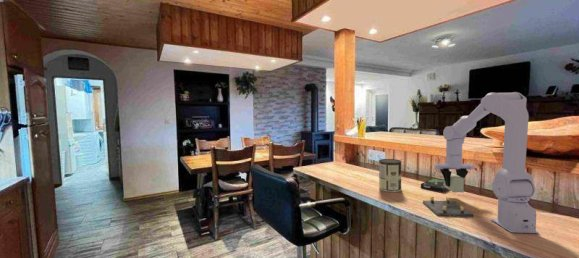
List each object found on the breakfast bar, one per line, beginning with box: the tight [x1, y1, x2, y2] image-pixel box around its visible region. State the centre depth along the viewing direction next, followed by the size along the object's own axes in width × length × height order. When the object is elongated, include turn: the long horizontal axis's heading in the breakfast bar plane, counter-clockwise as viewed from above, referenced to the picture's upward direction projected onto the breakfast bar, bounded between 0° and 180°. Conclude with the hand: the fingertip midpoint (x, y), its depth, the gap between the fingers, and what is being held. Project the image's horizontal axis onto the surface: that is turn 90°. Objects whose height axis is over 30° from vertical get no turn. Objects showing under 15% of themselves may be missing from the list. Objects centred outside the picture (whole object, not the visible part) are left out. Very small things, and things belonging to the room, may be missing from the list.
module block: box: [443, 173, 465, 193], centre depth 109 cm, size 4×8×6 cm, turn 174°
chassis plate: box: [422, 196, 474, 218], centre depth 97 cm, size 13×12×3 cm
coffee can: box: [378, 158, 402, 193], centre depth 123 cm, size 10×10×14 cm
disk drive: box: [420, 178, 449, 194], centre depth 125 cm, size 10×3×15 cm
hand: (453, 185), depth 109 cm, fingers closed on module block, 4 cm apart
